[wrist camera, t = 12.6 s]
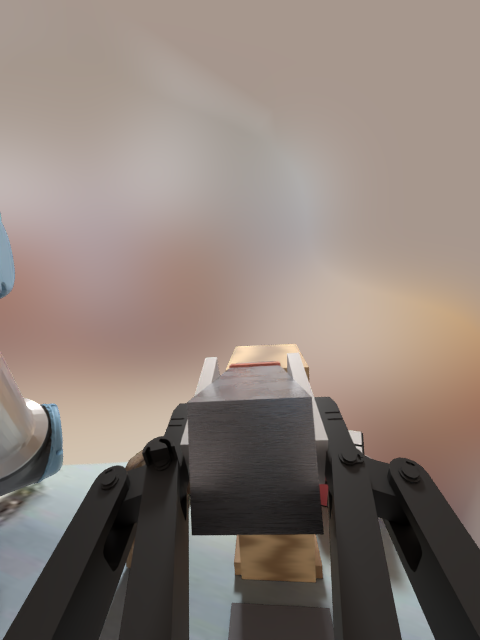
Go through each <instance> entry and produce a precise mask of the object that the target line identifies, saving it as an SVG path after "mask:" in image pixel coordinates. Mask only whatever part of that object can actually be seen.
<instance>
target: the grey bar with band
mask: <svg viewBox="0 0 480 640" xmlns="http://www.w3.org/2000/svg"><path fill="white" fill-rule="evenodd" d="M187 416H188V443H189V470H190V497H191V524H192V535H298V534H324V533H323V521H322V509H321V498H320V486H319V475H318V463H317V452H316V440H315V429H314V417H313V406H312V397H311V396H310V395H309V394H308V393H307V392H306V391H305V390H304V389H303V388H302V387H301V386H300V385H299V384H298V383H297V382H296V381H295V380H294V379H293V378H292V377H291V376H290V375H289V374H288V373H287V372H286V371H285V370H284V369H283V368H282V367H281V364H280V362H279V361H264V362H246V363H236V364H231V365H229V369H228V370H227V371H226V372H224V373H223V374H222V375H221V376H220V377H218V378H217V379H216V380H215V381H214V382H212V383H211V384H209V385H208V386H207V387H206V388H204V389H203V390H202V391H201V392H199V393H198V394H197V395H196V396H194V397H193V398H192V399H191V400H189V401H188V402H187Z"/></svg>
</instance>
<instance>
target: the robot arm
mask: <svg viewBox="0 0 480 640" xmlns="http://www.w3.org/2000/svg"><path fill="white" fill-rule="evenodd" d="M14 279H15V270H14V262H13V256H12V251H11V246H10V242H9V239H8V236H7V233H6V230H5V228H4V226H3V224H2V222H1V213H0V298H3V297H5V296H6V295H7V294H8V293H9V292H10V291H11V290H12V288H13V285H14ZM287 373H288V374H289V375H290V376H291V377H292V378H293V379H294V380H295V381H296V382H297V383H298V384H299V385H300V386H301V387H302V388H303V389H304V390H305V391H306V392H307V393H308V394H309V395H310V396H311V397H312V406H313V417H314V429H315V440H316V452H317V463H318V475H319V484H325V477H326V481H327V484H328V498H327V506H328V512H329V534H330V557H331V580H332V603H333V626H334V640H402V638H401V633H400V628H399V623H398V618H397V613H396V608H395V603H394V598H393V593H392V588H391V583H390V578H389V573H388V568H387V563H386V558H385V553H384V547H383V542H382V537H381V532H380V527H379V522H378V517H380V518H382V519H383V521H384V523H385V525H386V528H387V530H388V532H389V535H390V537H391V539H392V541H393V544H394V546H395V548H396V551H397V553H398V555H399V558H400V560H401V562H402V564H403V567H404V569H405V571H406V574H407V576H408V578H409V580H410V583H411V585H412V587H413V590H414V592H415V594H416V597H417V599H418V601H419V603H420V606H421V608H422V610H423V613H424V615H425V617H426V619H427V622H428V624H429V626H430V629H431V631H432V633H433V636H434V638H435V640H480V549H479V548H478V546H477V545H476V543H475V542H474V540H473V539H472V538H471V536H470V535H469V533H468V532H467V530H466V529H465V527H464V526H463V524H462V523H461V522H460V520H459V518H458V517H457V515H456V514H455V513H454V511H453V510H452V508H451V507H450V505H449V504H448V502H447V501H446V499H445V498H444V496H443V495H442V493H441V492H440V490H439V489H438V487H437V486H436V485H435V483H434V482H433V480H432V479H431V477H430V476H429V474H428V473H427V472H426V471H425V470H424V468H423V467H422V466H420V465H419V464H417V463H416V462H414V461H412V460H409V459H406V458H396V459H393V460H392V461H391V462H390V464H388V463H384V462H380V461H376V460H373V459H370V458H368V457H367V456H365V455H363V453H362V452H361V451H360V450H359V449H357V448H356V446H355V445H354V443H353V440H352V438H351V436H350V434H349V431H348V429H347V427H346V424H345V422H344V420H343V418H342V415H341V413H340V411H339V408H338V406H337V404H336V403H335V402H334V401H333V400H332V399H331V398H330V397H314V396H313V393H312V390H311V387H310V384H309V381H308V378H307V375H306V372H305V369H304V366H303V363H302V360H301V357H300V354H299V353H287ZM218 377H220V374H219V367H218V360H217V357H211V358H205V362H204V365H203V369H202V372H201V375H200V379H199V382H198V386H197V389H196V392H195V396H196V395H197V394H198V393H199V392H201V391H202V390H203V389H204V388H206V387H207V386H208V385H209V384H211V383H212V382H214V381H215V380H216V379H217V378H218ZM142 455H143V458H144V461H145V463H146V464H145V465H143V466H141V467H138V468H135V469H132V470H129V471H127V470H126V469H125V468H124V467H123V466H112V467H110V468H108V469H106V470H104V471H103V472H102V473H101V474H100V475H99V476H98V477H97V478H96V480H95V481H94V483H93V484H92V486H91V488H90V490H89V491H88V493H87V495H86V497H85V498H84V500H83V502H82V503H81V505H80V507H79V509H78V510H77V512H76V514H75V516H74V517H73V519H72V521H71V522H70V524H69V526H68V528H67V529H66V531H65V533H64V535H63V536H62V538H61V540H60V541H59V543H58V545H57V547H56V548H55V550H54V552H53V554H52V555H51V557H50V559H49V560H48V562H47V564H46V566H45V567H44V569H43V571H42V573H41V574H40V576H39V578H38V579H37V581H36V583H35V585H34V586H33V588H32V590H31V592H30V593H29V595H28V597H27V599H26V600H25V602H24V604H23V605H22V607H21V609H20V611H19V612H18V614H17V616H16V618H15V619H14V621H13V623H12V624H11V626H10V628H9V630H8V631H7V633H6V635H5V637H4V638H3V640H98V639H99V636H100V633H101V630H102V628H103V625H104V622H105V619H106V616H107V614H108V611H109V608H110V605H111V602H112V600H113V597H114V594H115V591H116V588H117V586H118V583H119V580H120V577H121V575H122V572H123V569H124V566H125V563H126V561H127V558H128V555H129V552H130V549H131V547H132V544H133V541H134V538H135V542H134V548H133V554H132V561H131V567H130V573H129V579H128V585H127V592H126V598H125V604H124V610H123V617H122V623H121V629H120V635H119V640H189V507H188V493H187V487H188V483H189V481H190V470H189V443H188V416H187V403H185V404H179V405H178V406H177V407H176V409H175V410H174V411H173V413H172V416H171V420H170V422H169V424H168V427H167V429H166V432H165V435H164V436H161V437H157V438H154V439H153V440H151V441H150V442H148V444H147V445H146V446H145V447H144V449H143V451H142ZM62 462H63V449H62V429H61V421H60V414H59V410H58V407H57V405H56V404H42V405H38V404H37V403H36V402H34V401H32V400H29V399H26V398H23V396H22V395H21V392H20V390H19V388H18V386H17V384H16V382H15V380H14V378H13V376H12V374H11V371H10V369H9V367H8V365H7V363H6V361H5V359H4V357H3V355H2V353H1V351H0V496H2V495H5V494H7V493H10V492H12V491H15V490H18V489H20V488H23V487H25V486H28V485H31V484H33V483H34V484H35V483H39V482H41V481H42V480H43V479H45V478H47V477H49V476H52V475H54V474H55V473H57V472H58V471H59V470H60V468H61V466H62ZM135 535H136V536H135Z"/></svg>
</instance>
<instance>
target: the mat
mask: <svg viewBox="0 0 480 640" xmlns="http://www.w3.org/2000/svg"><path fill="white" fill-rule="evenodd" d="M228 640H334V628H333V624H332V619H331V614H330V609H329V608H317V607H299V606H281V605H263V604H245V603H232V606H231V616H230V627H229V637H228Z"/></svg>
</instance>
